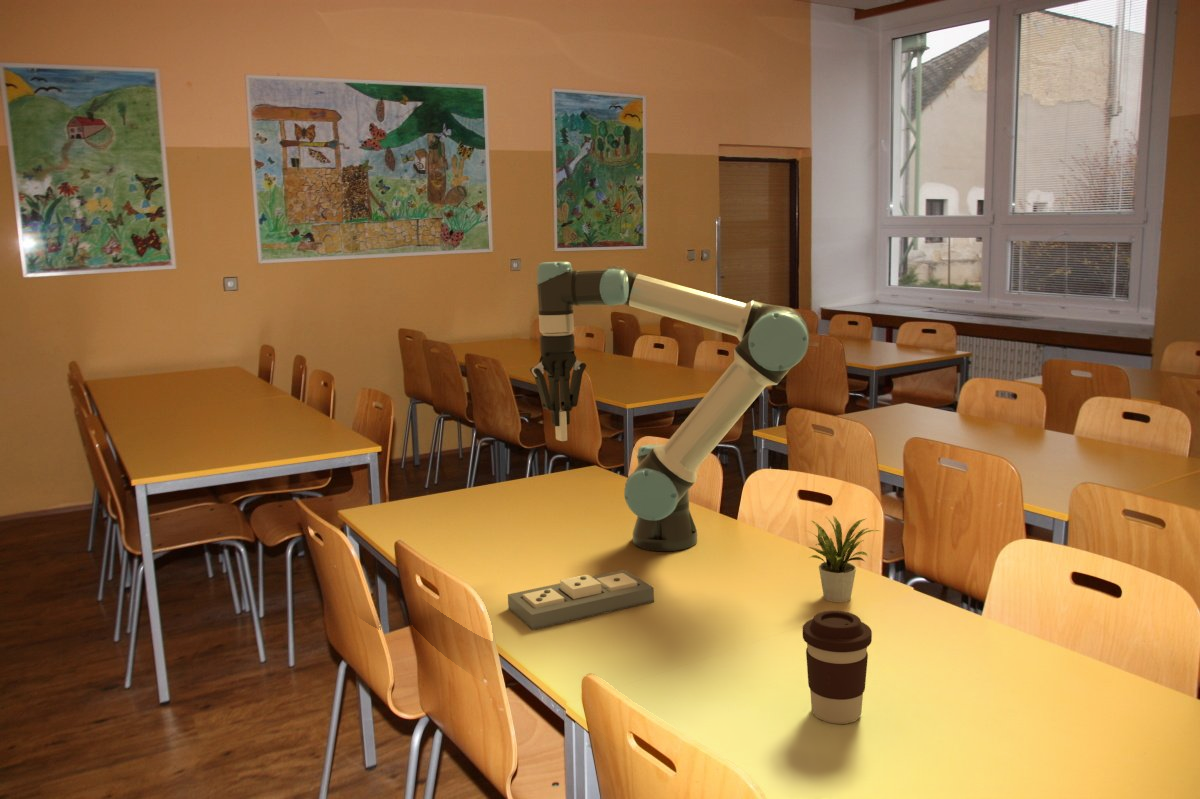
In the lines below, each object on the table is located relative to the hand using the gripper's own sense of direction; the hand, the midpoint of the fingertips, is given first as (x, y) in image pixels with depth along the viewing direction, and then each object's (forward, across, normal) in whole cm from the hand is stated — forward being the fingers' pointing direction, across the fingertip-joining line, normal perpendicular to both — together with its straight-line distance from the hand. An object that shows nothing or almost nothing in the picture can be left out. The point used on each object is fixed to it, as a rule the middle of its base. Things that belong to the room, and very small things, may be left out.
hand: (561, 439), depth 215 cm
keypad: (+27, +11, +27) cm, 40 cm away
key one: (+26, +3, +27) cm, 38 cm away
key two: (+24, +11, +27) cm, 38 cm away
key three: (+26, +19, +26) cm, 42 cm away
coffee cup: (+28, +1, +86) cm, 90 cm away
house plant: (+28, -33, +53) cm, 68 cm away
